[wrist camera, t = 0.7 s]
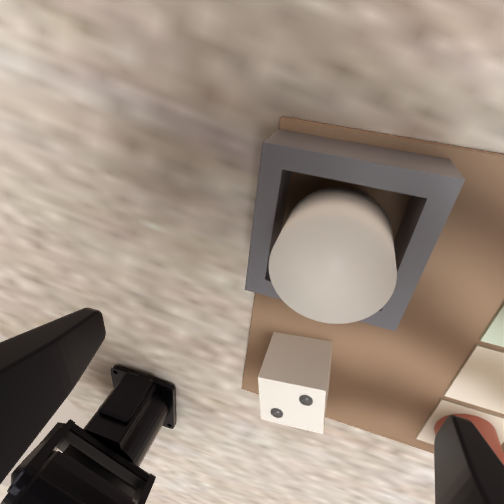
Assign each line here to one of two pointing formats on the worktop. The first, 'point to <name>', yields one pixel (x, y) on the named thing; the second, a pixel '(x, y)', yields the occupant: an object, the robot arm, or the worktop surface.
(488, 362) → the board
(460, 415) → the red cylinder
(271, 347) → the die
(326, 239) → the dome
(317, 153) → the frame
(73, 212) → the worktop surface
